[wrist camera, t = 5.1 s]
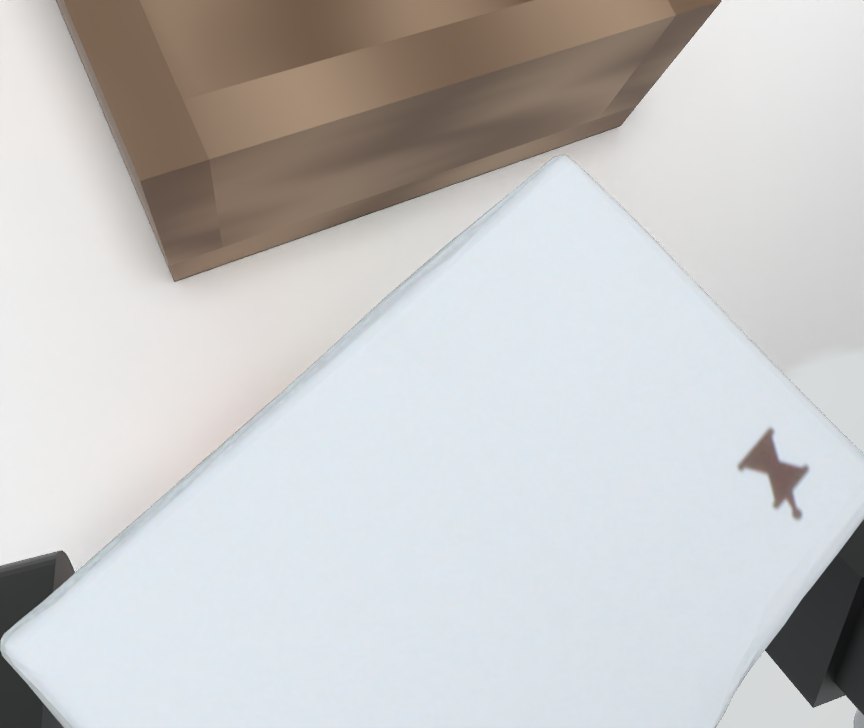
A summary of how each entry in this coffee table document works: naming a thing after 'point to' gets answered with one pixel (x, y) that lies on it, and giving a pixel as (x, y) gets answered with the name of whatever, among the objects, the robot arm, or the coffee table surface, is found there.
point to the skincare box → (475, 510)
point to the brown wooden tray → (350, 101)
